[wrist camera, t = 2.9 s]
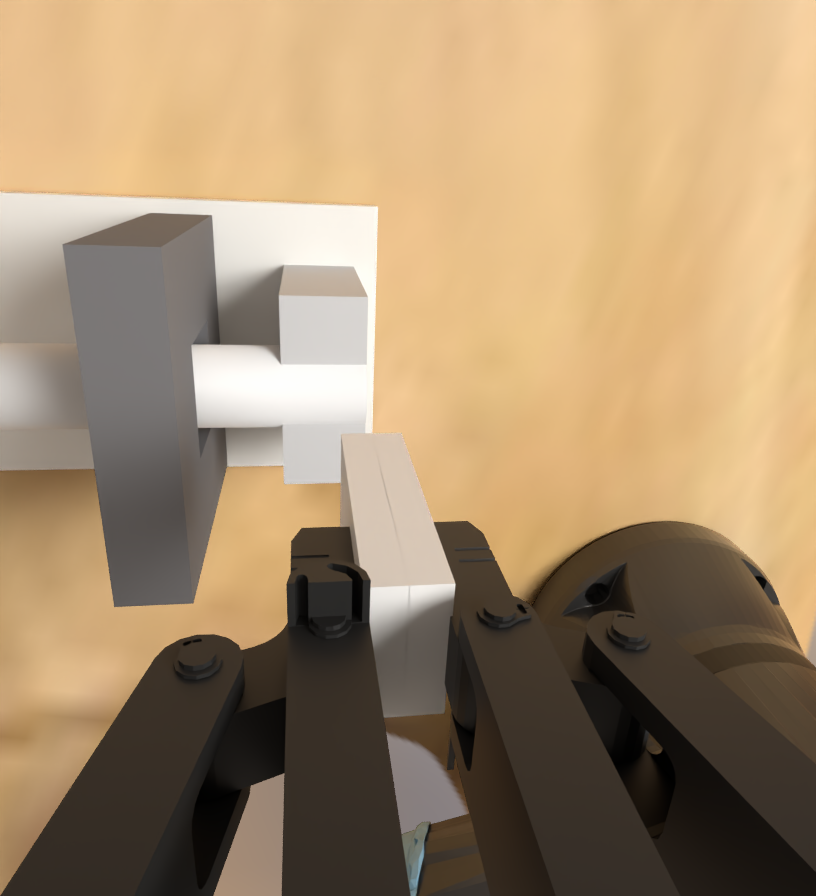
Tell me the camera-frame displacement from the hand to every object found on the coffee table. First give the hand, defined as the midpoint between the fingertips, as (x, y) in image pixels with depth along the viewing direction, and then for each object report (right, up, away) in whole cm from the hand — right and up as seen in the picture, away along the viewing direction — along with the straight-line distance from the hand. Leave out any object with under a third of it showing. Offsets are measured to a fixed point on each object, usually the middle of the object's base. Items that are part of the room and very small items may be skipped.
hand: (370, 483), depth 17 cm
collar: (-8, +5, +12) cm, 16 cm away
